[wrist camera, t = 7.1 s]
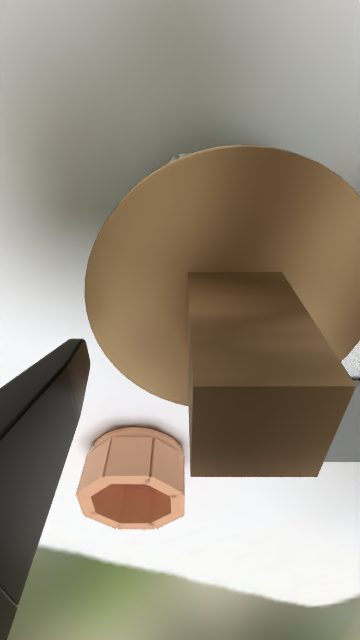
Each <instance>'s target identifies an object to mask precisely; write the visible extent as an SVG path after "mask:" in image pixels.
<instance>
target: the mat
mask: <svg viewBox="0 0 360 640" xmlns="http://www.w3.org/2000/svg"><path fill="white" fill-rule="evenodd" d="M353 382H354V383H355V385H356V388H355V391H354V393H353V395H352V398H351V400H350V402H349V405H348V407H347V409H346V411H345V414H344V416H343V418H342V421H341V423H340V425H339V428H338V430H337V432H336V434H335V437H334V439H333V441H332V444H331V446H330V448H329V451H328V453H327V455H326V457H325V460H324V462H360V380H353Z"/></svg>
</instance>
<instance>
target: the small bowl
mask: <svg viewBox="0 0 360 640" xmlns="http://www.w3.org/2000/svg"><path fill="white" fill-rule="evenodd" d="M76 496H77V499H78V501H79V504H80V507H81V510H82V513H83V515H85V516H86V517H88V518H91V519H93V520H95V521H98V522H100V523H103V524H105V525H108V526H110V527H112V528H115V529H116V528H118V529H155V528H156V529H158V528H160V527H162V526H164V525H166V524H168V523H170V522H172V521H174V520H176V519H178V518H181V517H183V515H184V497H185V492H184V453H183V450H182V448H181V446H180V445H179V444H178V443H177V442H176V441H175V440H174V439H173V438H171V437H170V436H168V435H166V434H164V433H162V432H159V431H156V430H152V429H148V428H138V427H130V428H121V429H117V430H113V431H110V432H108V433H106V434H104V435H103V436H101V437H100V438H99V439H98V440H97V441H96V442H95V443H94V445H93V448H92V451H91V452H90V453H89V454H87V457H86V460H85V464H84V467H83V471H82V475H81V478H80V482H79V485H78V489H77V492H76Z"/></svg>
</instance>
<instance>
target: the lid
mask: <svg viewBox="0 0 360 640" xmlns="http://www.w3.org/2000/svg"><path fill="white" fill-rule="evenodd" d="M85 303H86V311H87V315H88V319H89V323H90V326H91V329H92V331H93V334H94V336H95V338H96V340H97V342H98V344H99V346H100V347H101V349H102V351H103V352H104V354H105V355H106V356H107V358H108V359H109V360H110V361H111V363H112V364H113V365H114V366H115V367H116V368H117V369H118V370H119V371H120V372H121V373H122V374H123V375H124V376H125V377H127V378H128V379H129V380H131V381H132V382H133V383H135V384H136V385H137V386H139V387H141V388H142V389H144V390H146V391H147V392H149V393H151V394H153V395H156V396H158V397H160V398H162V399H165V400H168V401H171V402H174V403H177V404H181V405H186V406H189V436H190V473H191V477H317V476H318V474H319V471H320V469H321V467H322V464H323V462H324V460H325V457H326V455H327V453H328V451H329V448H330V446H331V444H332V441H333V439H334V437H335V434H336V432H337V430H338V428H339V425H340V423H341V421H342V418H343V416H344V414H345V411H346V409H347V407H348V405H349V402H350V400H351V398H352V395H353V393H354V391H355V388H356V385H355V383H354V382H353V380H352V379H351V377H350V376H349V374H348V373H347V371H346V370H345V368H344V366H343V365H342V363H341V361H342V360H343V359H344V358H345V357H346V356H347V355H348V354H349V353H350V352H351V350H352V349H353V348H354V347H355V345H356V344H357V343H358V342H359V340H360V196H359V195H358V194H357V192H356V191H355V190H354V189H353V188H352V187H351V186H350V185H349V184H348V183H347V182H345V181H344V180H343V179H342V178H341V177H340V176H339V175H337V174H336V173H334V172H333V171H331V170H329V169H328V168H326V167H324V166H323V165H321V164H320V163H318V162H315V161H313V160H310V159H308V158H305V157H303V156H300V155H298V154H295V153H292V152H289V151H285V150H281V149H276V148H272V147H268V146H258V145H244V144H241V145H229V146H218V147H214V148H209V149H205V150H200V151H196V152H193V153H191V154H188V155H186V156H183V157H180V158H178V159H175V160H173V161H171V162H170V163H168V164H166V165H164V166H162V167H161V168H159V169H157V170H155V171H154V172H152V173H151V174H150V175H148V176H147V177H146V178H145V179H143V180H142V181H141V182H139V183H138V184H137V185H136V186H135V187H134V188H133V189H132V190H131V191H130V192H129V193H128V194H127V195H126V196H125V197H124V198H123V199H122V200H121V201H120V203H119V204H118V205H117V207H116V208H115V210H114V211H113V212H112V214H111V215H110V216H109V218H108V219H107V221H106V222H105V223H104V225H103V227H102V229H101V231H100V233H99V235H98V236H97V238H96V240H95V242H94V245H93V248H92V251H91V254H90V257H89V260H88V265H87V270H86V276H85Z"/></svg>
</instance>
